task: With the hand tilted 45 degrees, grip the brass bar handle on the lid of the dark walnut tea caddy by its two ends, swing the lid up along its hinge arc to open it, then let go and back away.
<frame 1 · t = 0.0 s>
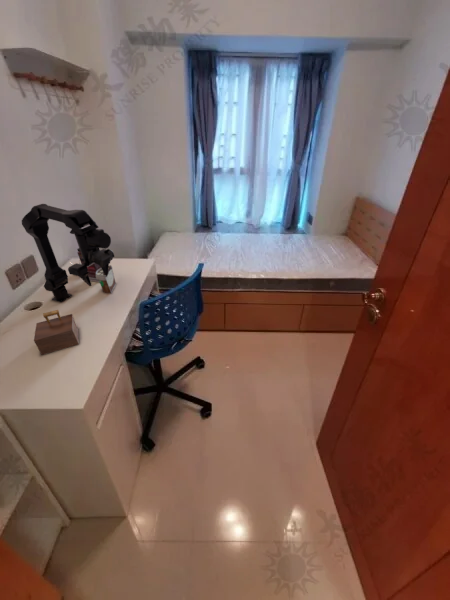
hand: (98, 280, 116), 15 cm above the table, tool pointing down, fingers open, 9 cm apart
caddy: (60, 341, 107), on the table
caddy lid: (52, 322, 103), point 9 cm above the table, hinge at 0.0°
food container: (107, 289, 139), on the table
supplement box: (96, 279, 148), on the table
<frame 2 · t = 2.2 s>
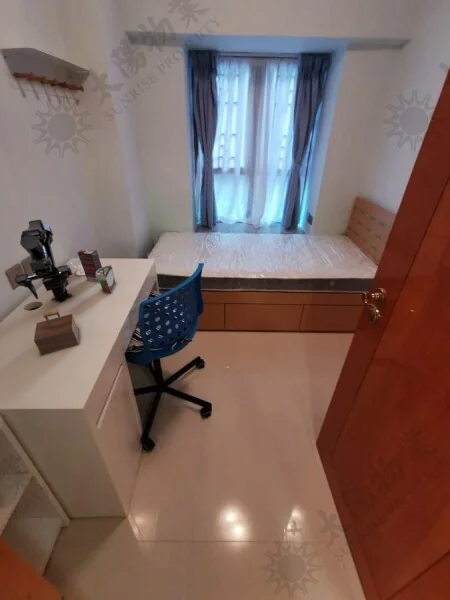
hand: (50, 295, 109), 13 cm above the table, tool tilted 45°, fingers open, 9 cm apart
nothing on the table moved.
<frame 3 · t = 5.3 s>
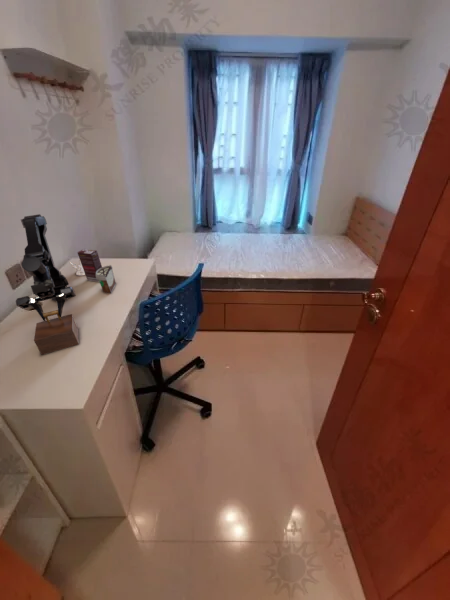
hand: (52, 318, 105), 9 cm above the table, tool tilted 45°, fingers closed on caddy lid, 5 cm apart
caddy lid: (52, 322, 103), point 9 cm above the table, hinge at 0.0°, touching gripper
everything else where it was.
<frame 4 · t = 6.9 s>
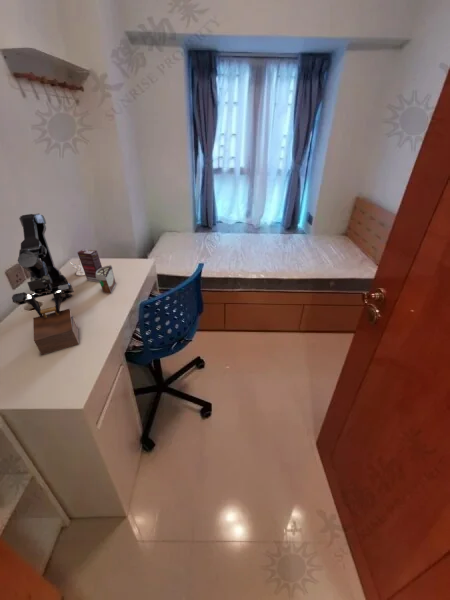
hand: (50, 315, 103), 11 cm above the table, tool tilted 40°, fingers closed on caddy lid, 5 cm apart
caddy lid: (50, 320, 101), point 10 cm above the table, hinge at 14.6°, touching gripper
everything else where it was.
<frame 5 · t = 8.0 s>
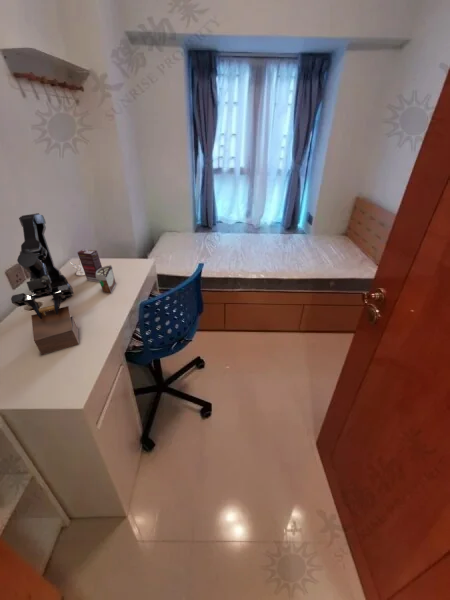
hand: (49, 316, 101), 12 cm above the table, tool tilted 45°, fingers closed on caddy lid, 5 cm apart
caddy lid: (50, 320, 101), point 11 cm above the table, hinge at 23.2°, touching gripper
everything else where it was.
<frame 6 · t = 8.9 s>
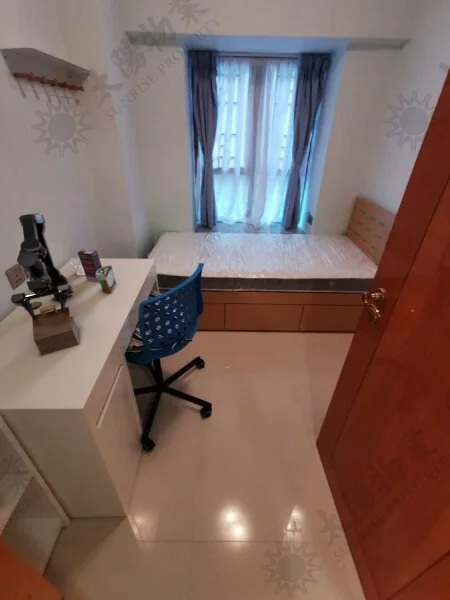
hand: (49, 316, 101), 12 cm above the table, tool tilted 45°, fingers open, 9 cm apart
caddy lid: (50, 320, 101), point 11 cm above the table, hinge at 20.8°
everything else where it was.
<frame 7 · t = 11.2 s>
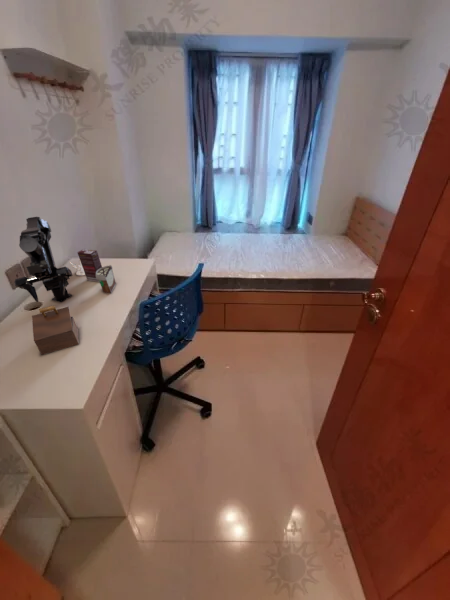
hand: (50, 298, 108), 13 cm above the table, tool tilted 40°, fingers open, 9 cm apart
nothing on the table moved.
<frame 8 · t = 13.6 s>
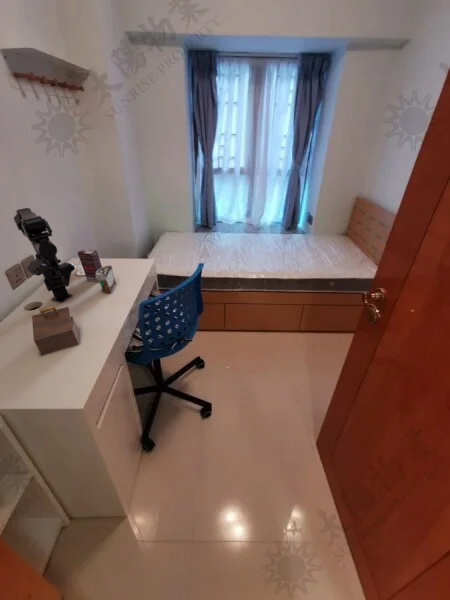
hand: (59, 284, 118), 13 cm above the table, tool pointing down, fingers open, 9 cm apart
nothing on the table moved.
at the end: caddy lid at +21° (first picture: +0°); the gripper is holding nothing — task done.
